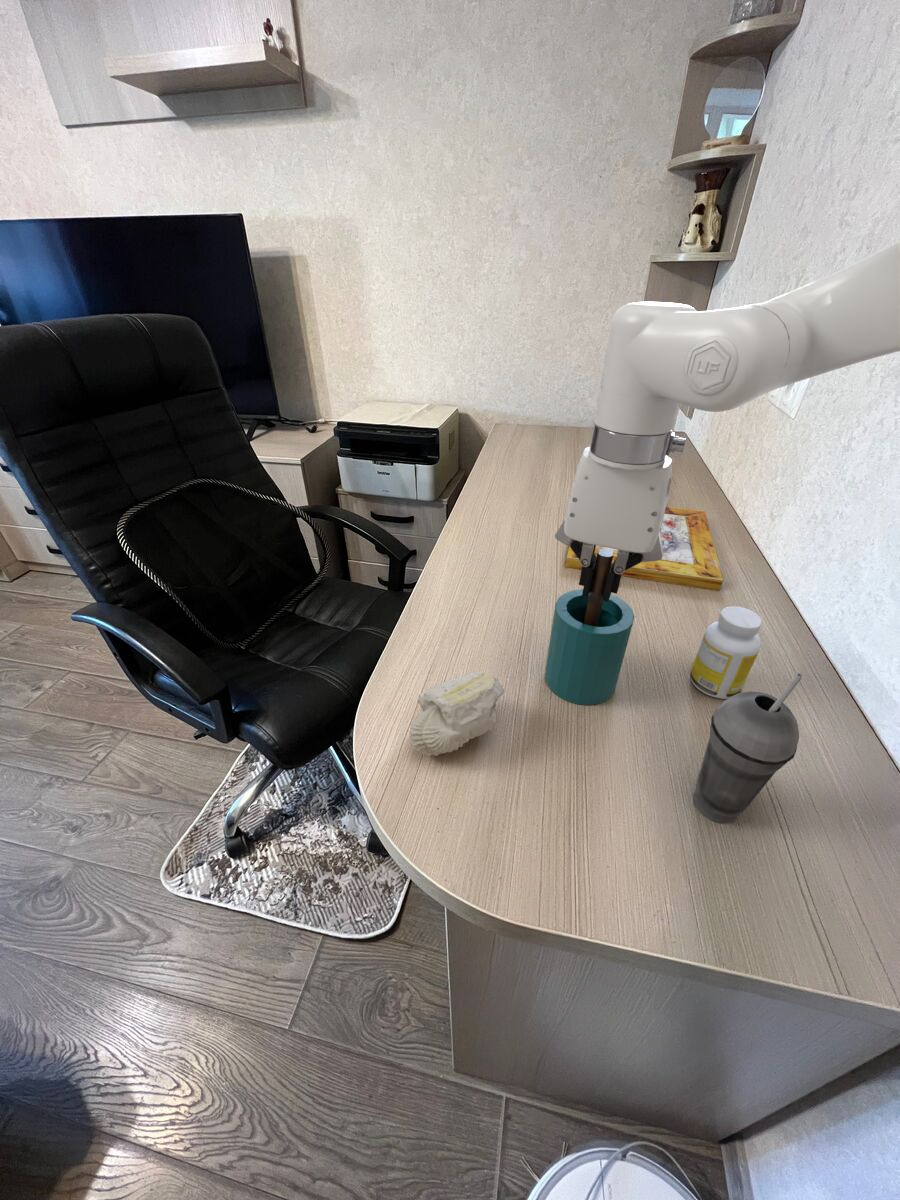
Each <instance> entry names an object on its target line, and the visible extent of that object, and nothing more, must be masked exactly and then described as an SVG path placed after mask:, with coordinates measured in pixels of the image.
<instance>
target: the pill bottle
mask: <svg viewBox="0 0 900 1200" xmlns="http://www.w3.org/2000/svg"><path fill="white" fill-rule="evenodd" d="M762 624H763V620H762V618H761V617H760V615H759V614H757V613H756V612H755V611H752V609H751V610H750V609H748V608H746V607H741V606H731V605H729V606H726V607H723V608H722V609H721V610H720V613H719V615H718V618H717V621H714V622H712V623H710V624H709V625H708V626H707V628H706V629H705V631H704V634H703V636H702V639H701V642H700V645H699V647H698V651H697V653H696V656H695V659H694V662H693V664H692V667H691V670H690V673H689V674H690V675H689V677H690V680H691V683H692V685H694V687H695V688H696V689H697V690H699V691H700V692H702V693H703V694H704V695H707V696H709V697H712V698H716V699H721V700H722V699H724V700H727V699H728V698H730V697H732V696H733V695H736V694H738V693H741V691H742V689H743V687H744V685H745V683H746V680H747V679H748V676H749V674H750V672H751V670H752V667H753V665H754V664H755V661H756V658H757V657H758V654H759V652H760V650H761V647H762V642H761V641H762V640H761V638H760V636H759V635H758V633H760V629H761V627H762Z"/></svg>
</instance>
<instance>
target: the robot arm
mask: <svg viewBox="0 0 900 1200" xmlns="http://www.w3.org/2000/svg"><path fill="white" fill-rule="evenodd" d="M610 322H611V323H610V328H609V331H608V338H607V344H606V350H605V355H604V362H603V369H602V372H601V380H600V384H599V392H598V399H597V402H596V403H597V404H596V410H595V415H594V422H593V427H592V434H591V440H590V445H589V446H587V447H585V448H584V449H583V452H582V454H581V456H580V458H579V459H580V460H579V462H578V464H577V468H576V471H575V475H574V478H573V482H572V484H571V490H570V493H569V498H568V503H567V506H566V512H565V517H564V520H563V521H562V523H561V525H560V526H559V527H558V529H557V531H556V532H555V534H554V538H555V539H556V540H557V541H558V542H560V543H561V544H563V545H565V546H567V547H568V548H569V547H570V548H571V549H572V551H573V552H574V553H575V554H576V556H577V557H578V558H579V560H580V564H581V565H582V570H581V569H580V575H579V581H578V585H579V586H582V587H583V588H582V589H583V593H582V596H588V595H589V593H590V589H591V584H592V579H593V574H594V569H595V563H596V558H597V557H596V555H595V549H596V545H598V546H603V547H608V548H613V549H618V553H617V557H616V559H615V560H614V562H613V563H612V565H611V568H610V570H609V572H608V576H607V581H606V585H605V590H604V594H603V600H604V601H607V602H608V601H609V598H610V595H611V594H616V595H617V594H618V591H619V588H620V584H621V580H622V577H623V576H622V574H623V573H624V571H625V570H627V569H629V568H631V567H633V566H635V565H637V564H639V563H640V562H651V561H659V560H661V559H662V557H663V546H662V541H661V535H660V529H661V526H662V522H663V518H664V513H665V509H666V507H667V503H668V499H669V496H670V495H669V493H670V488H671V483H672V474H673V459H672V458H671V457H669V455H670V453H672V454H675V453H680V454H681V453H682V454H683V452H684V449H685V445H686V440H687V438H684V437H679V436H678V435H676V433H675V432H673V430H674V425H675V421H676V418H677V414H678V410H679V406H680V404H681V405H683V406H687V407H689V408H692V409H695V410H699V411H703V412H709V413H721V412H728V411H731V410H734V409H737V408H740V407H742V406H744V405H746V404H747V403H750V402H752V401H755V400H756V399H758V398H760V397H761V396H763V395H766V394H768V393H770V392H773V391H775V390H777V389H780V388H783V387H786V386H789V385H792V384H795V383H798V382H802V381H804V380H808V379H810V378H814V377H816V376H820V375H823V374H827V373H829V372H832V371H835V370H838V369H841V368H845V367H849V366H851V365H855V364H858V363H862V362H865V361H868V360H872V359H876V358H879V357H883V356H886V355H890V354H893V353H898V352H900V238H899V239H898V240H896V241H894V242H893V243H890V244H889V245H888V246H885V247H883V248H882V249H880V250H878V251H876V252H874V253H872V254H870V255H868V256H866V257H864V258H862V259H860V260H858V261H856V262H853V263H852V264H849V265H847V266H845V267H843V268H841V269H838V270H837V271H834V272H832V273H830V274H828V275H825V276H823V277H821V278H818V279H816V280H814V281H812V282H810V283H807V284H805V285H803V286H800V287H798V288H795V289H792V290H791V291H789V292H786V293H784V294H781V295H779V296H776V297H774V298H771V299H770V300H769V299H768V300H767V301H765V302H764V301H763V302H758V303H751V304H746V305H740V306H736V307H730V308H722V309H713V310H700V311H697V309H695V308H694V307H692V306H691V305H689V304H683V303H679V302H678V303H677V302H663V301H637V302H629V303H626V304H624V305H621V306H620V307H619V308H618V309H617V310H616V311H615V312H614V314H613V316H612V318H611V321H610Z"/></svg>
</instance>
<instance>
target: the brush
mask: <svg viewBox="0 0 900 1200" xmlns="http://www.w3.org/2000/svg"><path fill="white" fill-rule="evenodd" d="M612 559H613V553H612V552H611V551H608V550H600V551H598V553H597V558H596V563H595V569H594V574H593V579H592V584H591V589H590V593H589V598H588V603H587V608H586V613H585V618H584V623H583V624H586V625H590V626H593V627H598V623H599V618H600V614H601V609H602V605H603V594H604V590H605V585H606V581H607V576H608V572H609V570H610V568H611V564H612Z"/></svg>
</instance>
